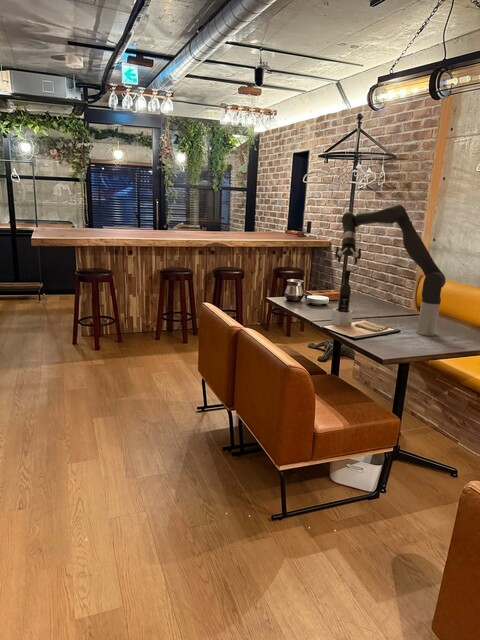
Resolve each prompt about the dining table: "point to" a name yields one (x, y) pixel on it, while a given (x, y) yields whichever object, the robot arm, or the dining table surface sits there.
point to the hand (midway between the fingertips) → (347, 263)
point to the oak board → (371, 325)
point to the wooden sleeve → (341, 318)
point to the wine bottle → (345, 294)
